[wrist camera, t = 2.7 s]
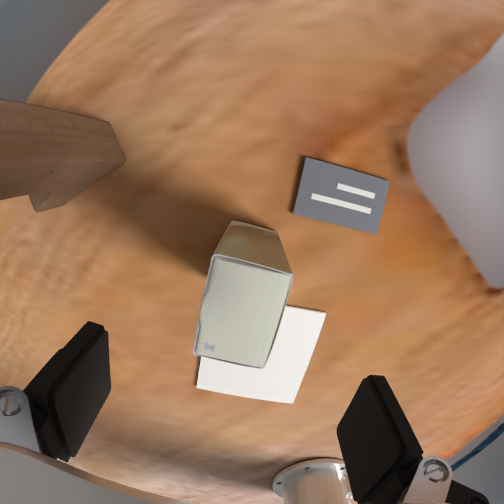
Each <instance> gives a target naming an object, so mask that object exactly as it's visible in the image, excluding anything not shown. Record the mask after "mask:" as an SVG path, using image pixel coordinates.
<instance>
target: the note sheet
mask: <svg viewBox="0 0 504 504" xmlns="http://www.w3.org/2000/svg"><path fill="white" fill-rule="evenodd" d="M325 316H326V312H322V311H316V310H310V309H304V308H299V307H293V306H288V305H286V307H285V310H284V314H283V317H282V320H281V324H280V327H279V330H278V333H277V336H276V339H275V343H274V345H273V348H272V351H271V354H270V356H269V358H268V361H267V363H266V366H265V368H264V369H257V368H252V367H245V366H240V365H235V364H230V363H226V362H222V361H217V360H213V359H209V358H206V357H202V356H201V362H200V368H199V374H198V381H197V387H196V388H200V389H205V390H209V391H214V392H220V393H225V394H230V395H236V396H242V397H248V398H254V399H261V400H268V401H275V402H283V403H292V404H293V402H294V399H295V397H296V394H297V392H298V389H299V387H300V384H301V382H302V379H303V377H304V374H305V372H306V369H307V366H308V364H309V361H310V358H311V356H312V353H313V350H314V347H315V345H316V342H317V339H318V336H319V333H320V331H321V328H322V325H323V322H324V319H325Z"/></svg>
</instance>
